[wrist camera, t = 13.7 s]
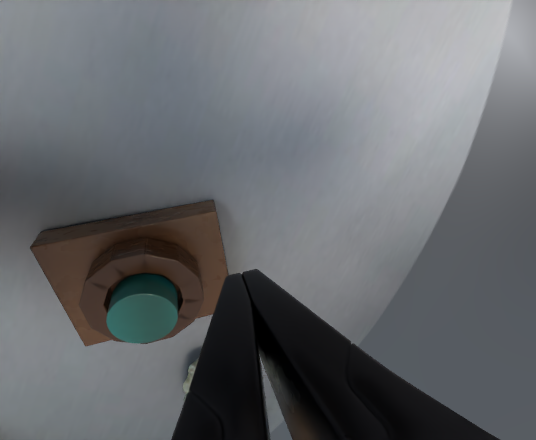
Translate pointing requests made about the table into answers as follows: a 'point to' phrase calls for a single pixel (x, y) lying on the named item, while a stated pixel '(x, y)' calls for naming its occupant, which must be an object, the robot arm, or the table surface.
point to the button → (143, 308)
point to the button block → (135, 263)
